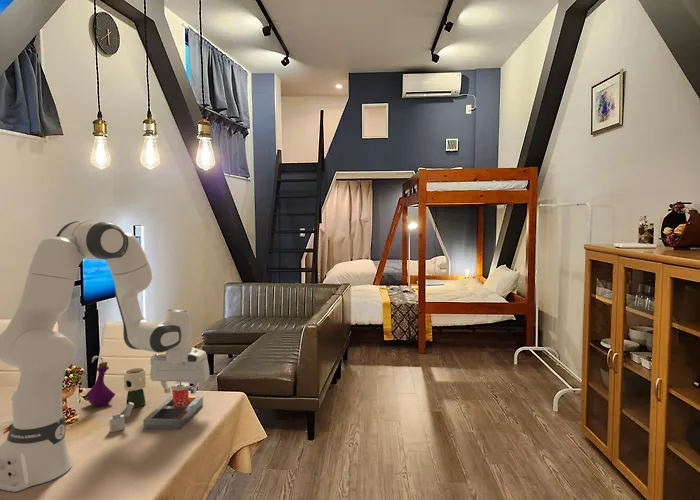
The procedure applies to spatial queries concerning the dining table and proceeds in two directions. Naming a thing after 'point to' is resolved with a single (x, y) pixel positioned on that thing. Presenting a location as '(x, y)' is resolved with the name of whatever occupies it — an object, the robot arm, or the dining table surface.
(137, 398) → the character mug
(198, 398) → the gray divided tray
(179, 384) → the beverage cup
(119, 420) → the lighter
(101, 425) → the dining table surface
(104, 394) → the perfume bottle
